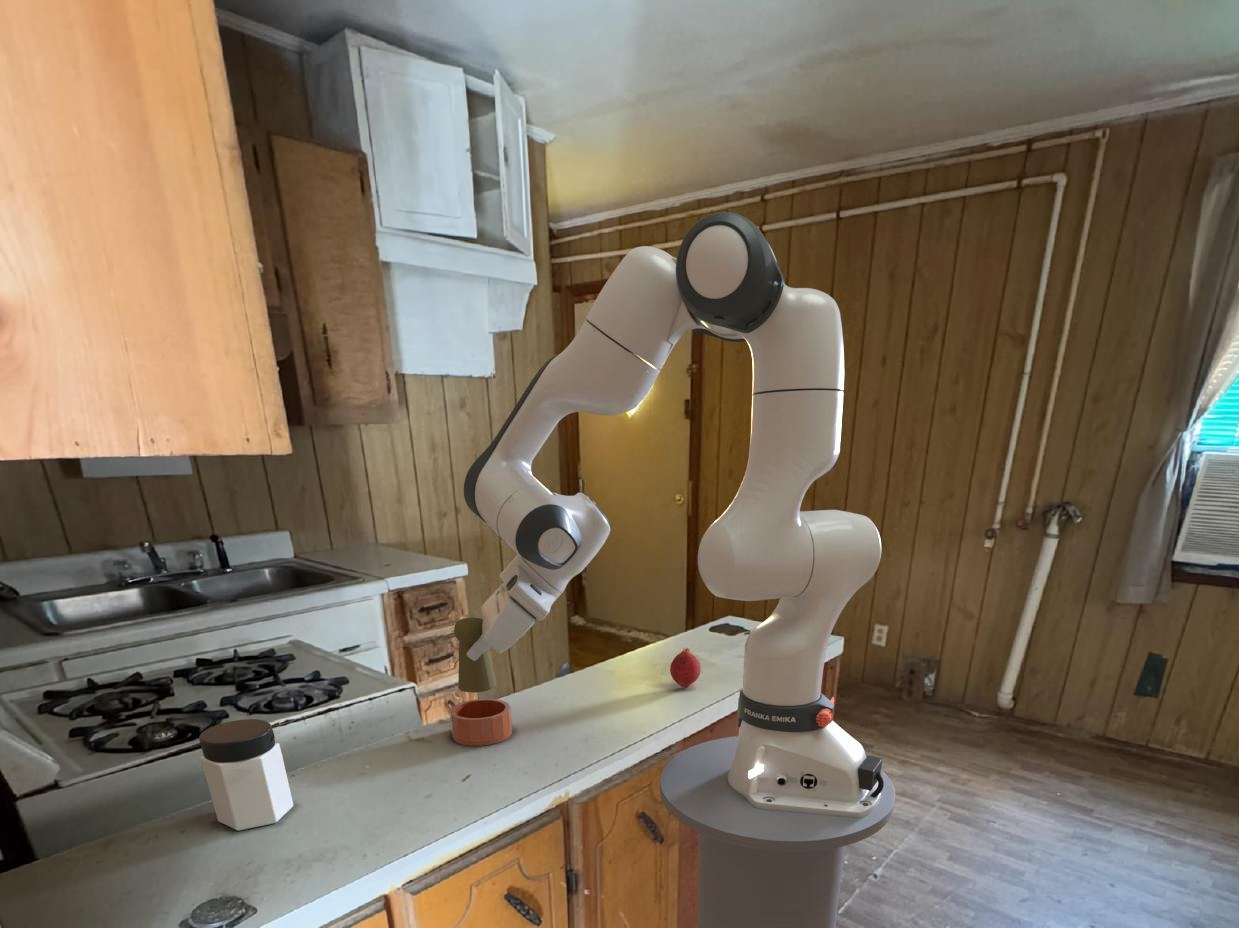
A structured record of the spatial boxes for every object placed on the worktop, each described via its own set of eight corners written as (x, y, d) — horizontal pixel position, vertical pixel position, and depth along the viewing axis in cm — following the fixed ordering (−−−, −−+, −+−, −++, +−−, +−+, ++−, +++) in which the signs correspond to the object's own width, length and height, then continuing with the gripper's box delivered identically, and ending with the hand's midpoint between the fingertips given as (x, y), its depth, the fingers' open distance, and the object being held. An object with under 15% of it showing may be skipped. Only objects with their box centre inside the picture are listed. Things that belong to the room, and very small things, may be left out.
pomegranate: (690, 694, 139) (691, 654, 136) (664, 689, 142) (664, 649, 138) (705, 686, 143) (706, 646, 140) (679, 681, 146) (680, 641, 143)
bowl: (523, 728, 124) (521, 703, 122) (490, 749, 116) (487, 723, 114) (475, 720, 128) (472, 695, 126) (440, 740, 120) (437, 714, 118)
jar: (305, 810, 98) (287, 727, 94) (246, 837, 92) (223, 749, 87) (266, 793, 103) (247, 713, 98) (207, 818, 97) (183, 733, 92)
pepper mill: (452, 684, 120) (444, 617, 115) (487, 676, 123) (480, 611, 118) (467, 695, 115) (459, 627, 110) (502, 687, 118) (496, 620, 113)
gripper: (509, 560, 122) (454, 622, 124) (516, 587, 104) (452, 658, 106) (537, 586, 125) (484, 645, 127) (549, 616, 107) (487, 685, 109)
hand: (470, 652), depth 116 cm, fingers closed on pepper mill, 4 cm apart
